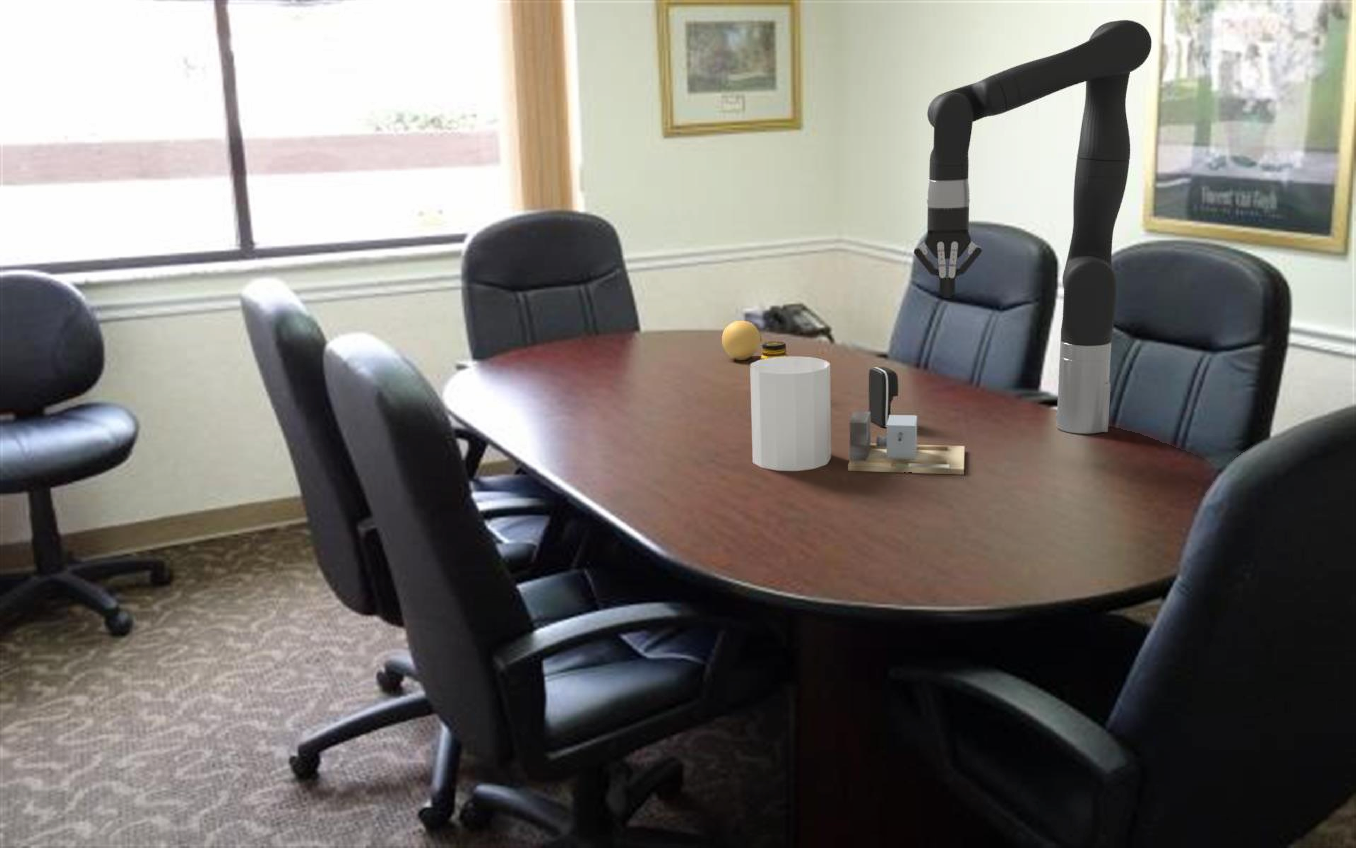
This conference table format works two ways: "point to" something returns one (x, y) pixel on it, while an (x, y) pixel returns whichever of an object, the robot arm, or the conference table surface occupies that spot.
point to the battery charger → (881, 393)
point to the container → (790, 413)
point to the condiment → (773, 350)
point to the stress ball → (741, 339)
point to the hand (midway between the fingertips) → (946, 296)
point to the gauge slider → (900, 437)
